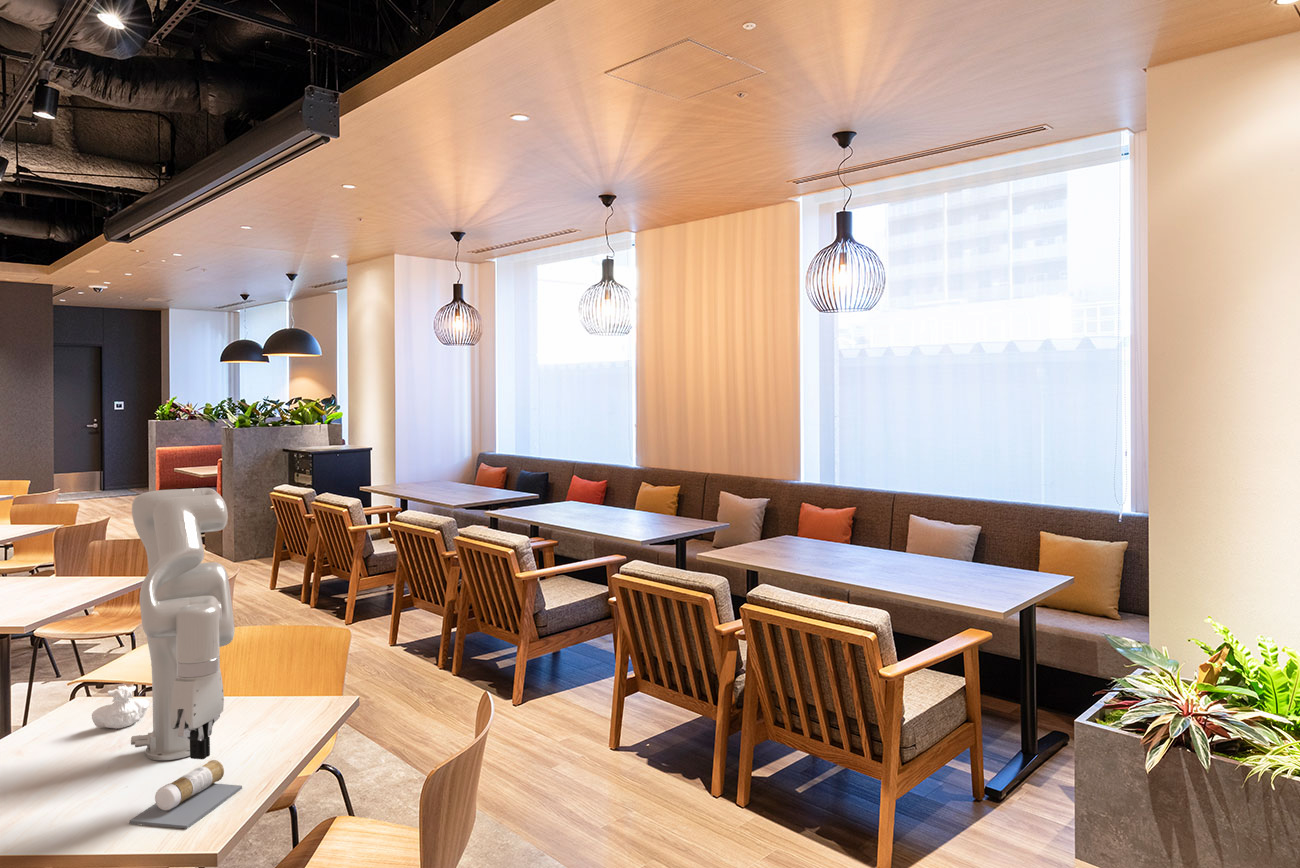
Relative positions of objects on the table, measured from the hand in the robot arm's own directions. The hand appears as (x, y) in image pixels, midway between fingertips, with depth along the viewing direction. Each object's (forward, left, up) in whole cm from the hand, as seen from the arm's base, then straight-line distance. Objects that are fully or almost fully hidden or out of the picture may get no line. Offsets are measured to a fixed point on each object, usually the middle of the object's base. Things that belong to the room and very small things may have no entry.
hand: (200, 757), depth 163 cm
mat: (-2, -3, -8) cm, 9 cm away
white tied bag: (-23, +47, -8) cm, 53 cm away
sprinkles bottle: (+2, +6, -5) cm, 8 cm away
